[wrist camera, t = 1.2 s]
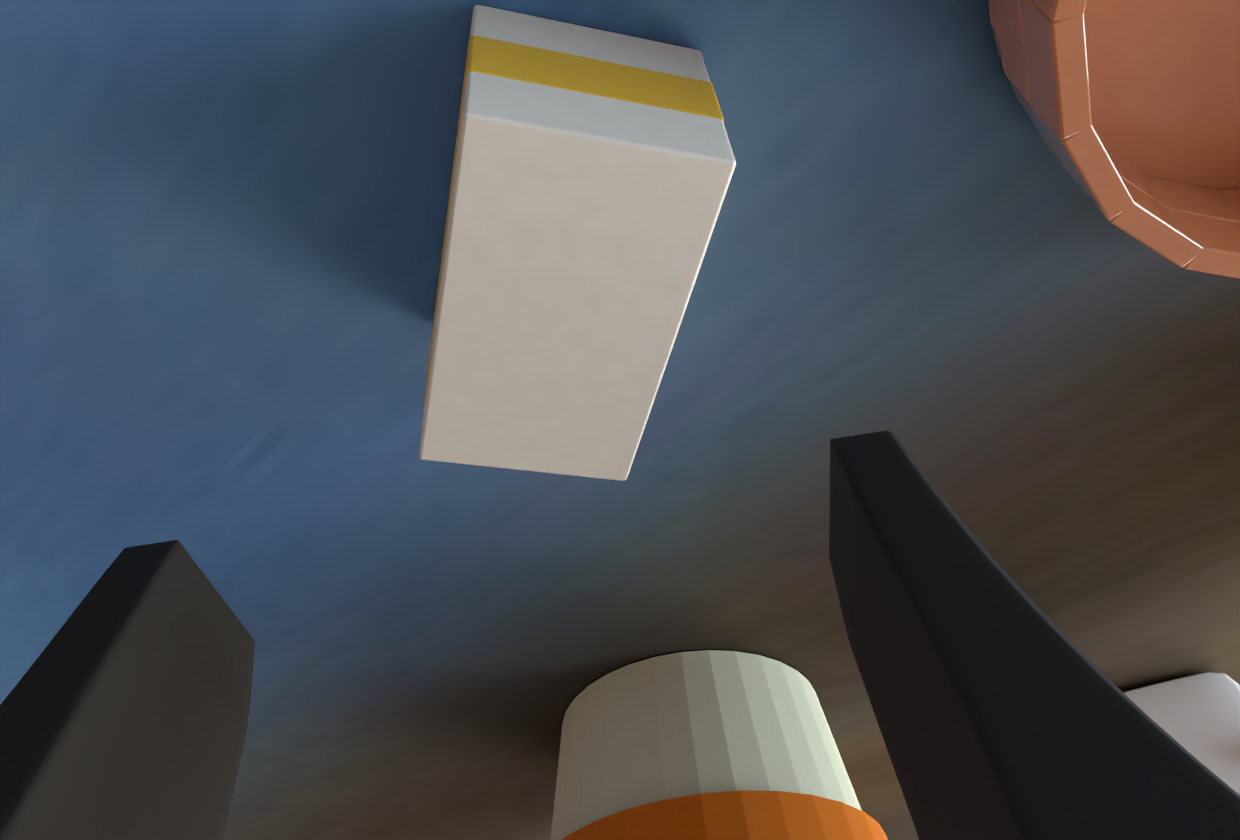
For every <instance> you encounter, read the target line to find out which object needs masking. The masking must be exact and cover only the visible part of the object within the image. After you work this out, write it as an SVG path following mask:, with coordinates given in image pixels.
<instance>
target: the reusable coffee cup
mask: <svg viewBox="0 0 1240 840" xmlns="http://www.w3.org/2000/svg"><path fill="white" fill-rule="evenodd" d="M551 840H888V839H887V836H886V835H885V833H884V831H883V830H882V828H881V826H880V825H879V823H878V822H877V821H875V820H874V819H873V818H871V817H870V816H869V815H867V814H866V813H865V812H863V811H862V810H861V807H860V805H859V802H858V800H857V797H856V795H855V792H854V790H853V787H852V784H851V782H850V779H849V777H848V774H847V772H846V769H845V767H844V764H843V761H842V759H841V756H840V754H839V751H838V749H837V746H836V744H835V741H834V738H833V736H832V733H831V731H830V728H829V726H828V723H827V721H826V718H825V715H824V713H823V710H822V708H821V705H820V703H819V700H818V698H817V695H816V692H815V691H814V689H813V687H812V686H811V684H810V682H809V681H808V680H807V679H806V678H805V677H804V676H803V675H802V674H800V673H799V672H798V671H797V670H795V669H793V668H791V667H790V666H788V665H786V664H784V663H782V662H780V661H777V660H774V659H770V658H767V657H764V656H761V655H756V654H750V653H744V652H738V651H719V650H703V651H689V652H679V653H673V654H668V655H662V656H657V657H652V658H649V659H646V660H642V661H639V662H636V663H632V664H629V665H627V666H624V667H622V668H620V669H618V670H615V671H613V672H611V673H608V674H606V675H605V676H603V677H601V678H600V679H598V680H597V681H595V682H593V683H592V684H590V685H589V686H587V687H586V688H585V689H584V690H583V691H582V692H581V693H580V694H579V695H578V696H577V697H575V698H574V700H573V701H572V703H571V704H570V706H569V707H568V709H567V710H566V713H565V716H564V720H563V724H562V732H561V742H560V752H559V762H558V771H557V781H556V791H555V801H554V811H553V821H552V831H551Z"/></svg>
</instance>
